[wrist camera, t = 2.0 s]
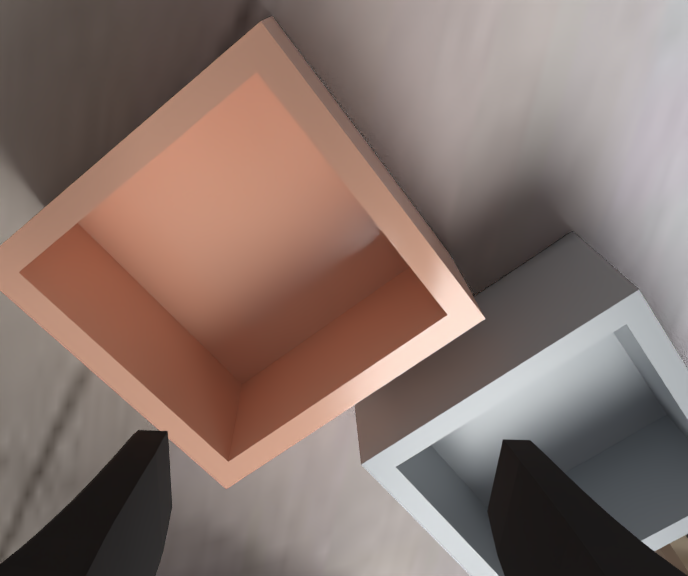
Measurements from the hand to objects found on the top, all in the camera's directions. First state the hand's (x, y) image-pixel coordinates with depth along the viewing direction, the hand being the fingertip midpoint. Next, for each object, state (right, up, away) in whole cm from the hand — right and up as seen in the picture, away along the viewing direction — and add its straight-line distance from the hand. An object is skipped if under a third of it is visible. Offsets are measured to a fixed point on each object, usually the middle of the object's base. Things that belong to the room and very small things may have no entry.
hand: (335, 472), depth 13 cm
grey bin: (+7, 0, +12) cm, 14 cm away
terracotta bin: (-3, +6, +8) cm, 11 cm away
